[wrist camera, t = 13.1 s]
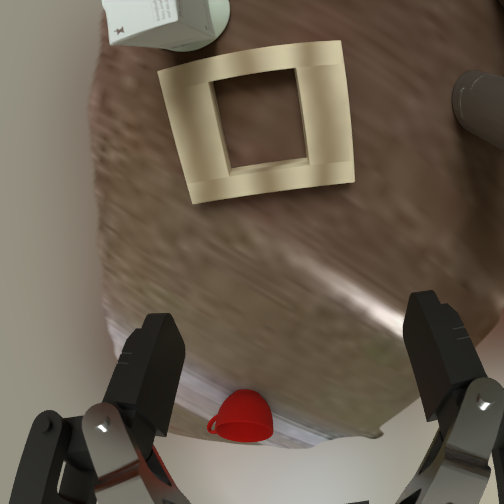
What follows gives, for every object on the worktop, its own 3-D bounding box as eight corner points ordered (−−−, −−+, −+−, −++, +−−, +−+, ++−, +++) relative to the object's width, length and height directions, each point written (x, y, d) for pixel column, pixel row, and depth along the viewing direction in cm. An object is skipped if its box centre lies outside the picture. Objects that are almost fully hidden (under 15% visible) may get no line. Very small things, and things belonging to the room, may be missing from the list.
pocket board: (334, 41, 29) (340, 40, 27) (349, 173, 38) (354, 182, 36) (165, 70, 32) (157, 71, 29) (197, 194, 41) (192, 204, 39)
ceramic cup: (195, 392, 70) (189, 428, 62) (255, 376, 65) (254, 417, 56) (225, 413, 76) (222, 446, 68) (283, 401, 71) (283, 437, 62)
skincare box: (217, 39, 29) (184, 26, 17) (166, 51, 30) (108, 50, 18) (205, -23, 25) (168, -65, 12) (155, -9, 25) (94, -37, 13)
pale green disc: (221, -31, 24) (221, -33, 24) (237, 41, 30) (236, 40, 29) (140, -8, 26) (138, -9, 25) (155, 61, 31) (153, 61, 31)
